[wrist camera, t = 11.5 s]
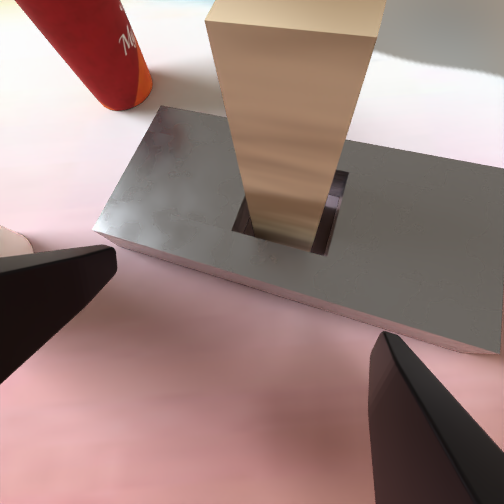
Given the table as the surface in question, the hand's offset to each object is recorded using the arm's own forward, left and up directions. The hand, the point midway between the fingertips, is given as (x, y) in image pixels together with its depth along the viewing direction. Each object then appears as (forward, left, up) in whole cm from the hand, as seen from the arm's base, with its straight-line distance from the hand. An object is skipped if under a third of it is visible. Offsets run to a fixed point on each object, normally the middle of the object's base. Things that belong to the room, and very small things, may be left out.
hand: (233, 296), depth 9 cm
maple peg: (+3, +7, -10) cm, 12 cm away
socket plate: (+3, +7, -10) cm, 12 cm away
